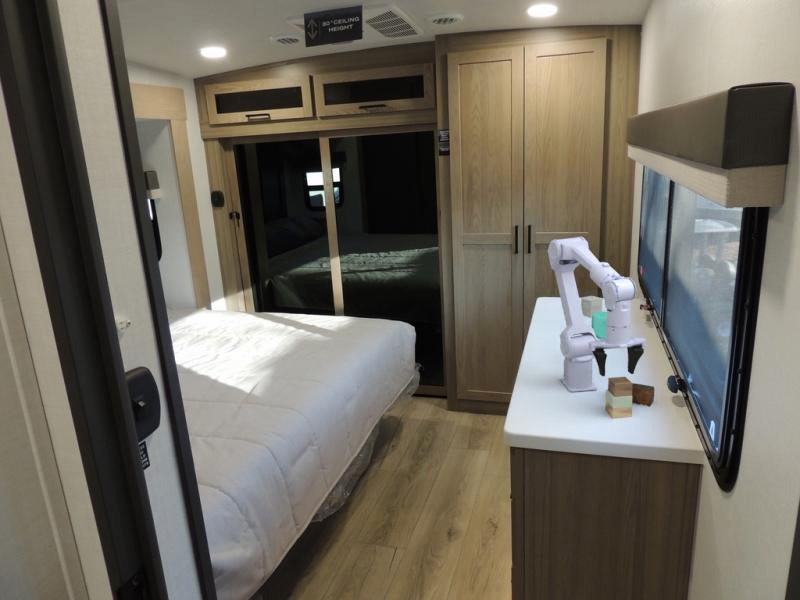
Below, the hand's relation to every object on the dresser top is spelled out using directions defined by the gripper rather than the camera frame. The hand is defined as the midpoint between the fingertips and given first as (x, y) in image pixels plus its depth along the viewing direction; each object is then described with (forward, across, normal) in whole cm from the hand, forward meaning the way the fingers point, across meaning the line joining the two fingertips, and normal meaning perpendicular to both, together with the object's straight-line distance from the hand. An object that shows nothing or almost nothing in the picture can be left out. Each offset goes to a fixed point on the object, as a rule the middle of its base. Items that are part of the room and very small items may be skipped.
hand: (616, 373), depth 154 cm
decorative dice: (+11, +20, +60) cm, 64 cm away
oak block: (+10, 0, -2) cm, 11 cm away
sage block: (+7, 0, -2) cm, 8 cm away
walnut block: (+4, 0, -2) cm, 5 cm away
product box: (+11, +25, +86) cm, 90 cm away
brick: (+11, +7, +5) cm, 14 cm away
